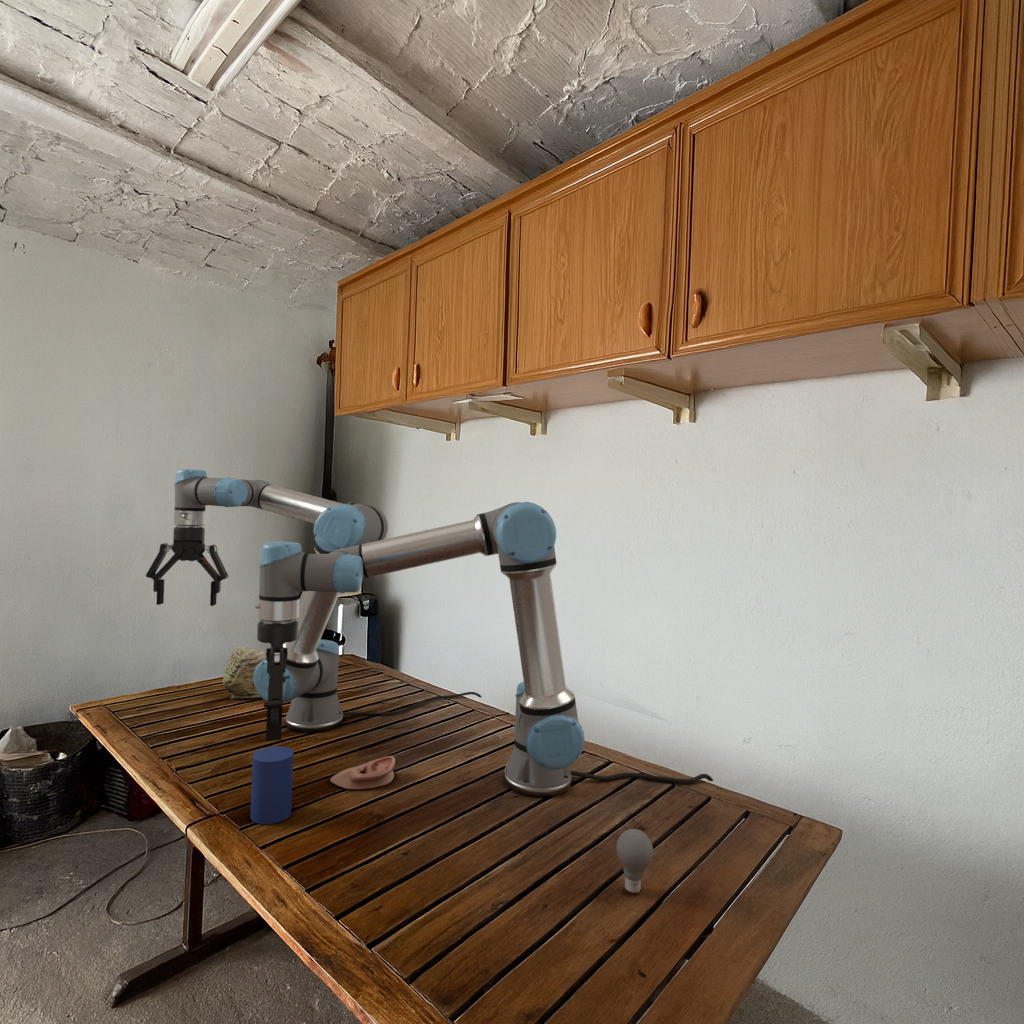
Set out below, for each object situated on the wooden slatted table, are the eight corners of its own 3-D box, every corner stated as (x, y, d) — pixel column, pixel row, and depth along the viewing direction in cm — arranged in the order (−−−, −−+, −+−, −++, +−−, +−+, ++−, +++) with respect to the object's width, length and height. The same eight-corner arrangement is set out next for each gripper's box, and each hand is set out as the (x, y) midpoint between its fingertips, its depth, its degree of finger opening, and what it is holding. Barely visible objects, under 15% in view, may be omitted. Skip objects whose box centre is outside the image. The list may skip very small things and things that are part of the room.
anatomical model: (324, 767, 138) (348, 748, 150) (323, 785, 138) (347, 764, 150) (381, 775, 136) (401, 755, 147) (380, 794, 136) (400, 772, 147)
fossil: (218, 695, 195) (220, 647, 195) (278, 685, 208) (279, 640, 207) (228, 703, 189) (230, 653, 188) (289, 692, 201) (290, 645, 201)
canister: (244, 823, 122) (246, 760, 122) (259, 804, 129) (261, 745, 129) (283, 825, 122) (286, 762, 122) (296, 805, 129) (298, 746, 129)
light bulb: (610, 879, 108) (613, 822, 108) (644, 879, 109) (647, 822, 109) (619, 902, 102) (622, 840, 102) (655, 901, 103) (658, 840, 103)
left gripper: (133, 525, 166) (131, 605, 166) (233, 528, 170) (230, 607, 170) (146, 524, 173) (143, 601, 174) (241, 527, 177) (238, 603, 177)
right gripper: (259, 609, 135) (255, 707, 136) (255, 634, 112) (250, 753, 112) (296, 608, 138) (292, 705, 138) (300, 633, 114) (295, 749, 115)
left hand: (186, 604), depth 172 cm, fingers open, 13 cm apart
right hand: (273, 727), depth 125 cm, fingers open, 13 cm apart
